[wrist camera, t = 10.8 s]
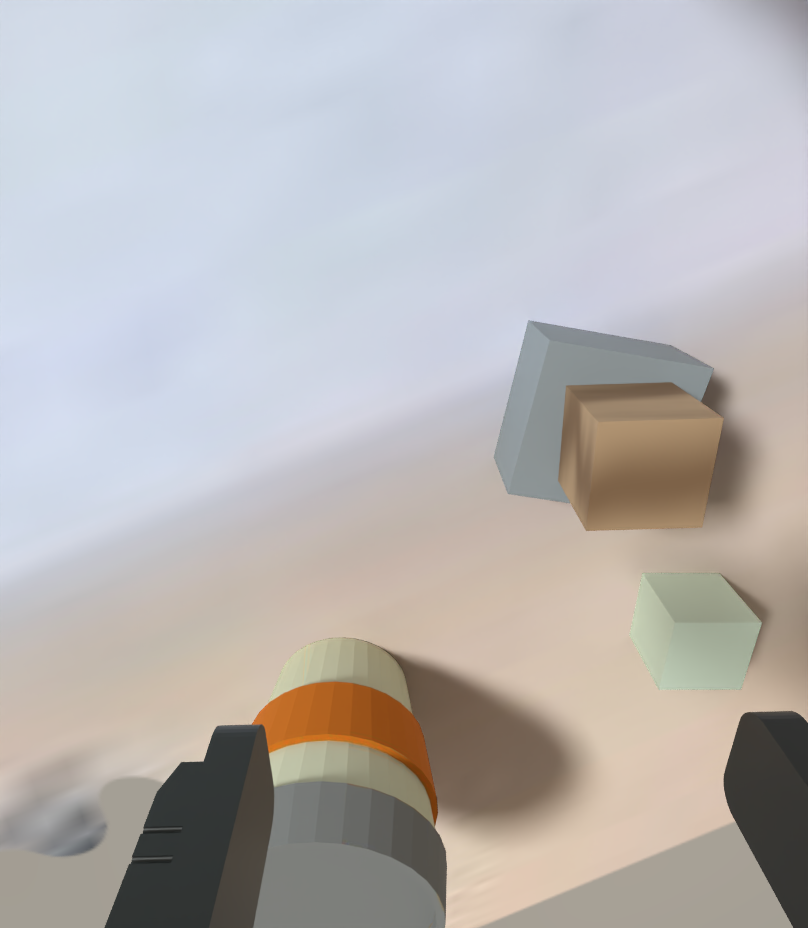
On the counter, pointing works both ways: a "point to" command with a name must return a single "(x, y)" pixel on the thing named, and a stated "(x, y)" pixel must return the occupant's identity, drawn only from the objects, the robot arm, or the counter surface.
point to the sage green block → (693, 631)
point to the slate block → (543, 395)
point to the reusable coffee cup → (349, 797)
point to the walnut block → (637, 455)
